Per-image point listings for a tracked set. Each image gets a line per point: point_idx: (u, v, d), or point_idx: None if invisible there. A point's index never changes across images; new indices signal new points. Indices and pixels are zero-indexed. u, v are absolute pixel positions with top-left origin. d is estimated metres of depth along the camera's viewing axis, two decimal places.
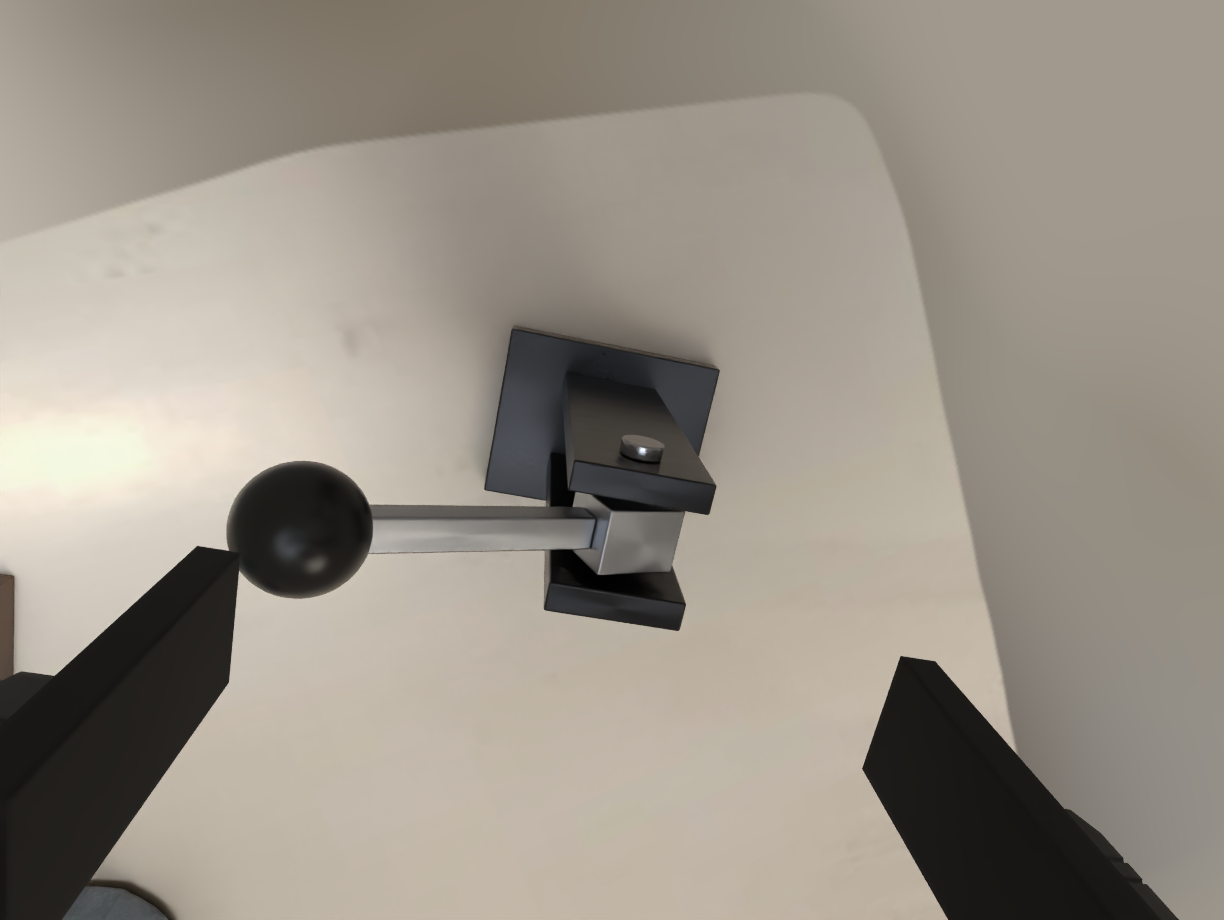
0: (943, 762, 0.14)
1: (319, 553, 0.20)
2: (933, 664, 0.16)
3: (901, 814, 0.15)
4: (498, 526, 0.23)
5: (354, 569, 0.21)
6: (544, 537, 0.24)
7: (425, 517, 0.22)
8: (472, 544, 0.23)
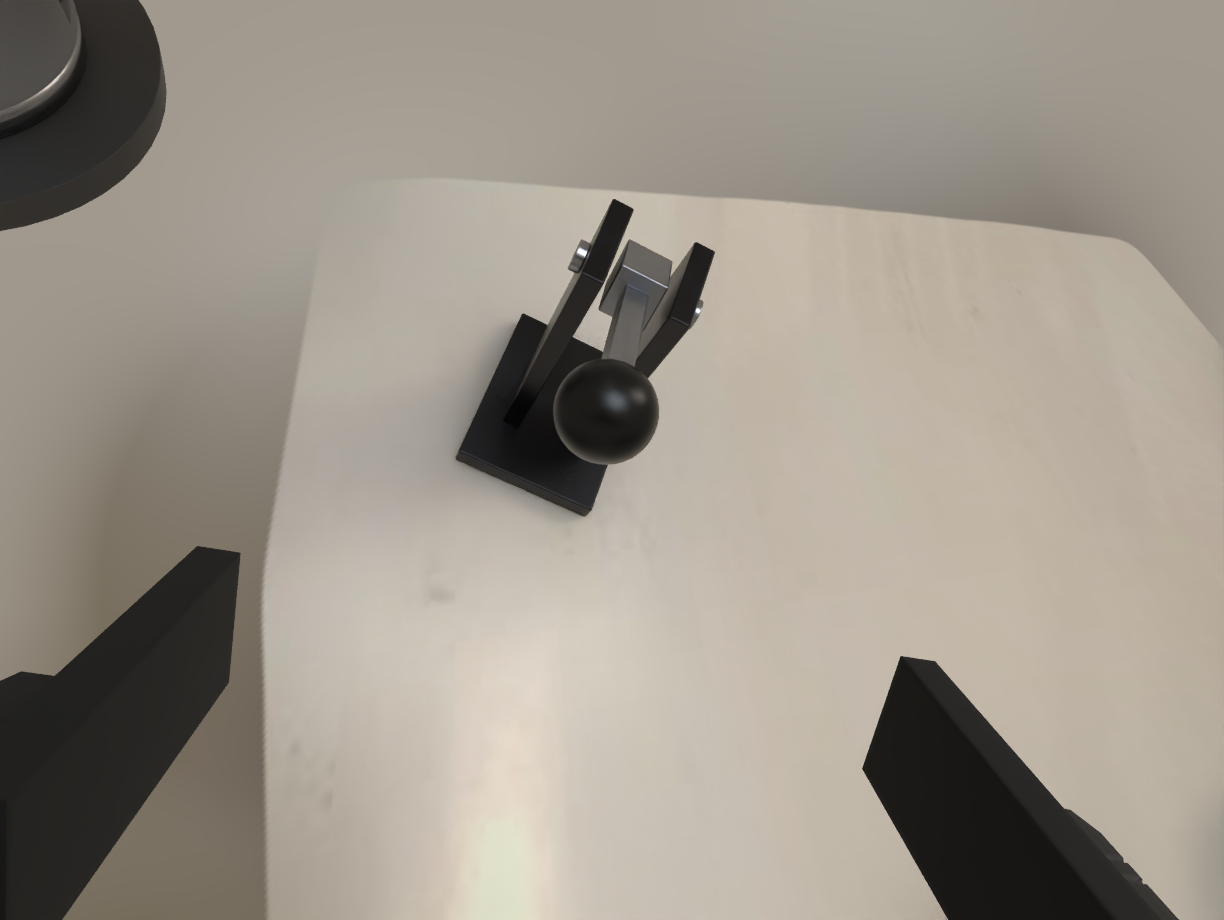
0: (943, 762, 0.14)
1: (625, 369, 0.26)
2: (933, 664, 0.16)
3: (900, 814, 0.15)
4: (623, 323, 0.31)
5: None
6: (635, 309, 0.32)
7: (609, 349, 0.29)
8: (634, 338, 0.31)
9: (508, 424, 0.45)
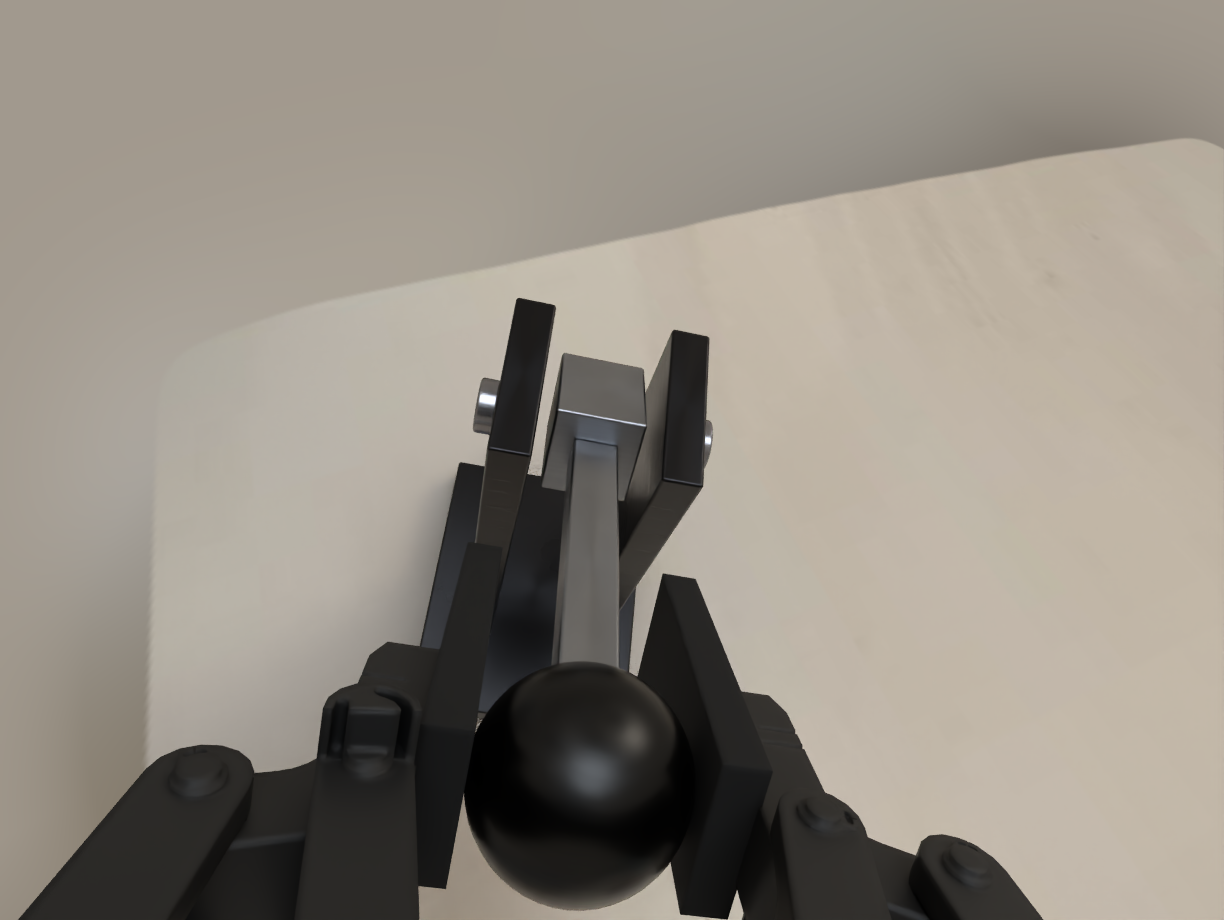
0: (669, 659, 0.16)
1: (596, 703, 0.12)
2: (692, 581, 0.18)
3: None
4: (581, 529, 0.17)
5: (634, 675, 0.13)
6: (599, 486, 0.18)
7: (562, 608, 0.15)
8: (607, 557, 0.16)
9: None
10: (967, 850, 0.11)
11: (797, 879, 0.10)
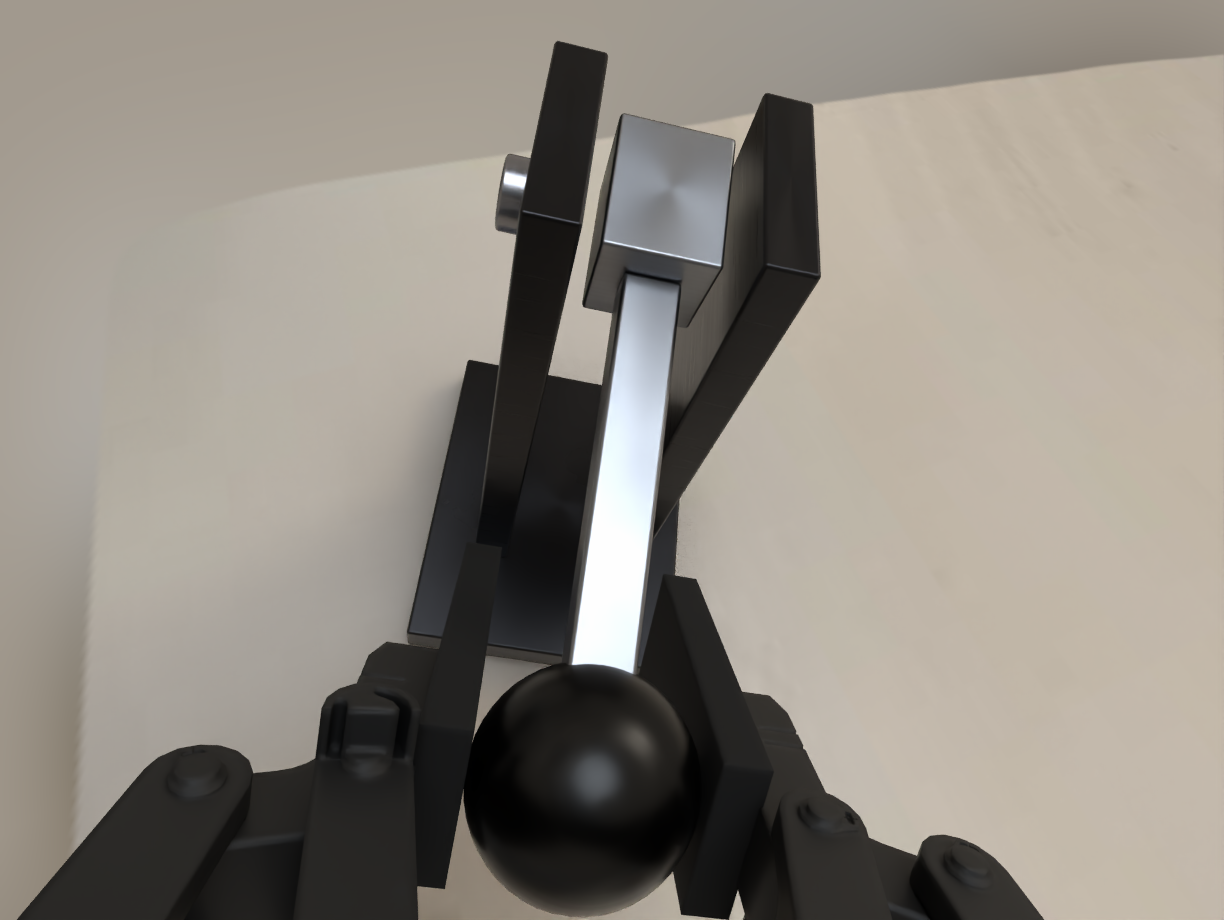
0: (670, 658, 0.16)
1: (594, 782, 0.11)
2: (692, 581, 0.18)
3: None
4: (616, 442, 0.13)
5: (647, 708, 0.12)
6: (648, 363, 0.14)
7: (581, 570, 0.13)
8: (643, 489, 0.13)
9: None
10: (968, 850, 0.11)
11: (798, 879, 0.10)
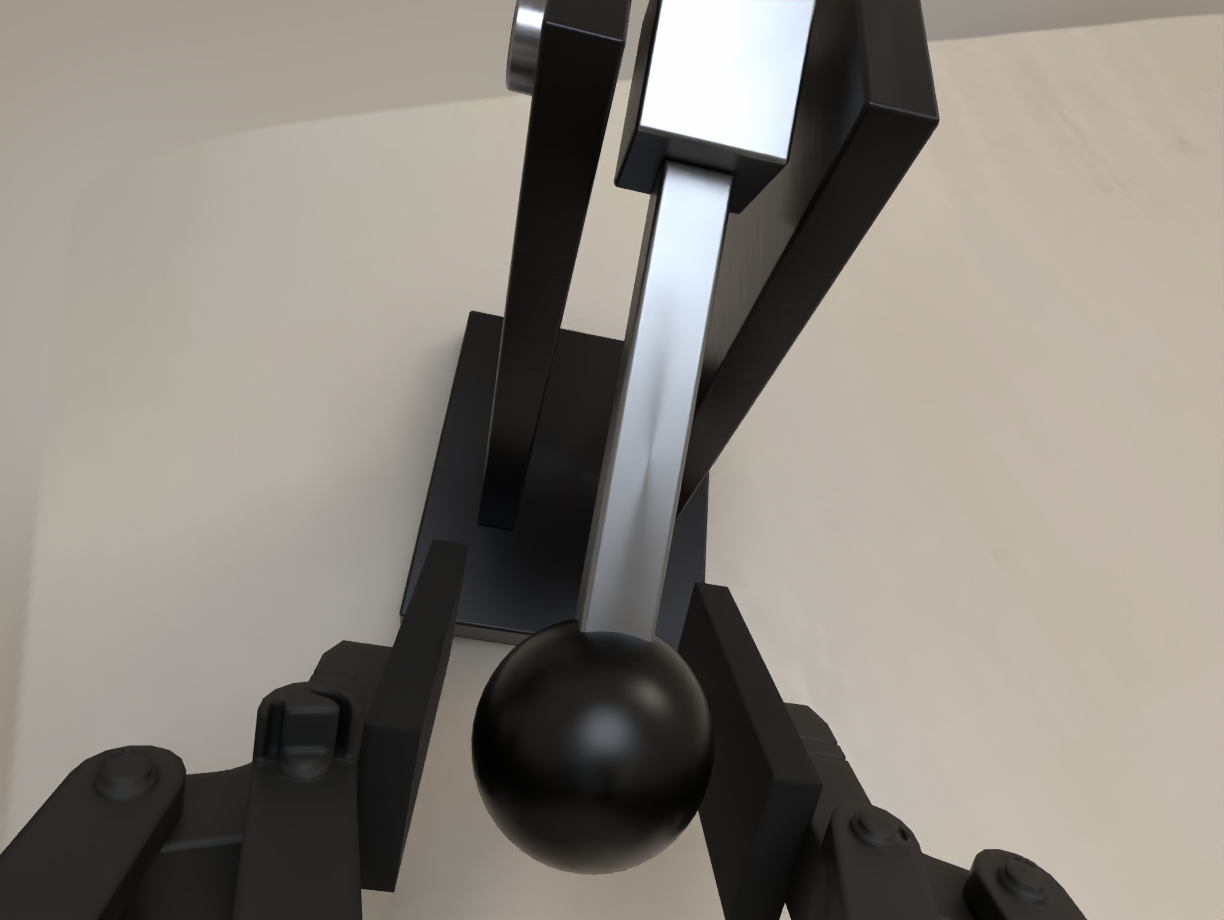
0: (706, 668, 0.16)
1: (600, 776, 0.10)
2: (724, 589, 0.17)
3: None
4: (644, 382, 0.12)
5: (661, 692, 0.11)
6: (686, 282, 0.12)
7: (598, 530, 0.11)
8: (672, 438, 0.12)
9: (490, 529, 0.22)
10: (1023, 865, 0.11)
11: (849, 891, 0.10)
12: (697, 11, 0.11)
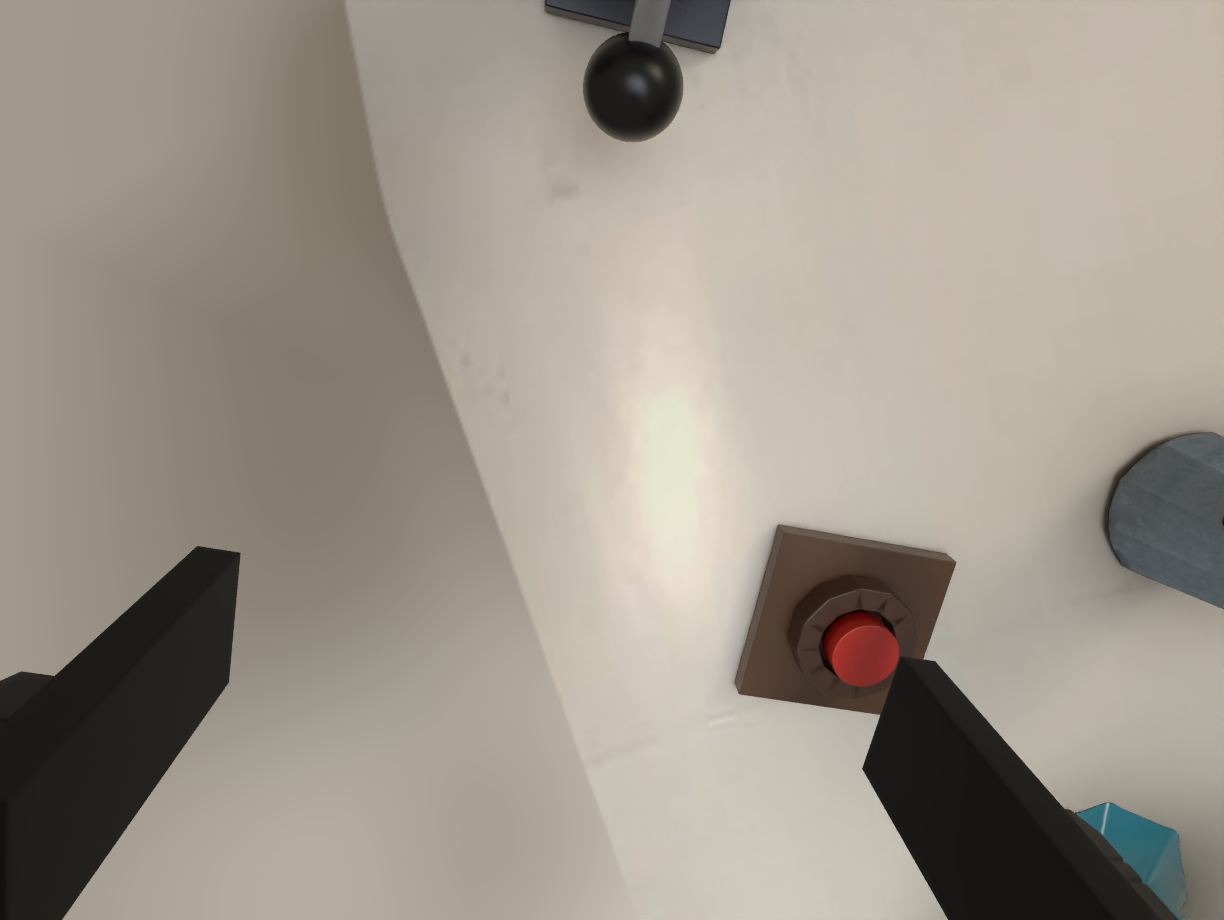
0: (942, 762, 0.14)
1: (629, 102, 0.27)
2: (933, 664, 0.16)
3: (901, 814, 0.15)
4: None
5: (657, 70, 0.27)
6: None
7: None
8: None
9: None
10: None
11: None
12: None
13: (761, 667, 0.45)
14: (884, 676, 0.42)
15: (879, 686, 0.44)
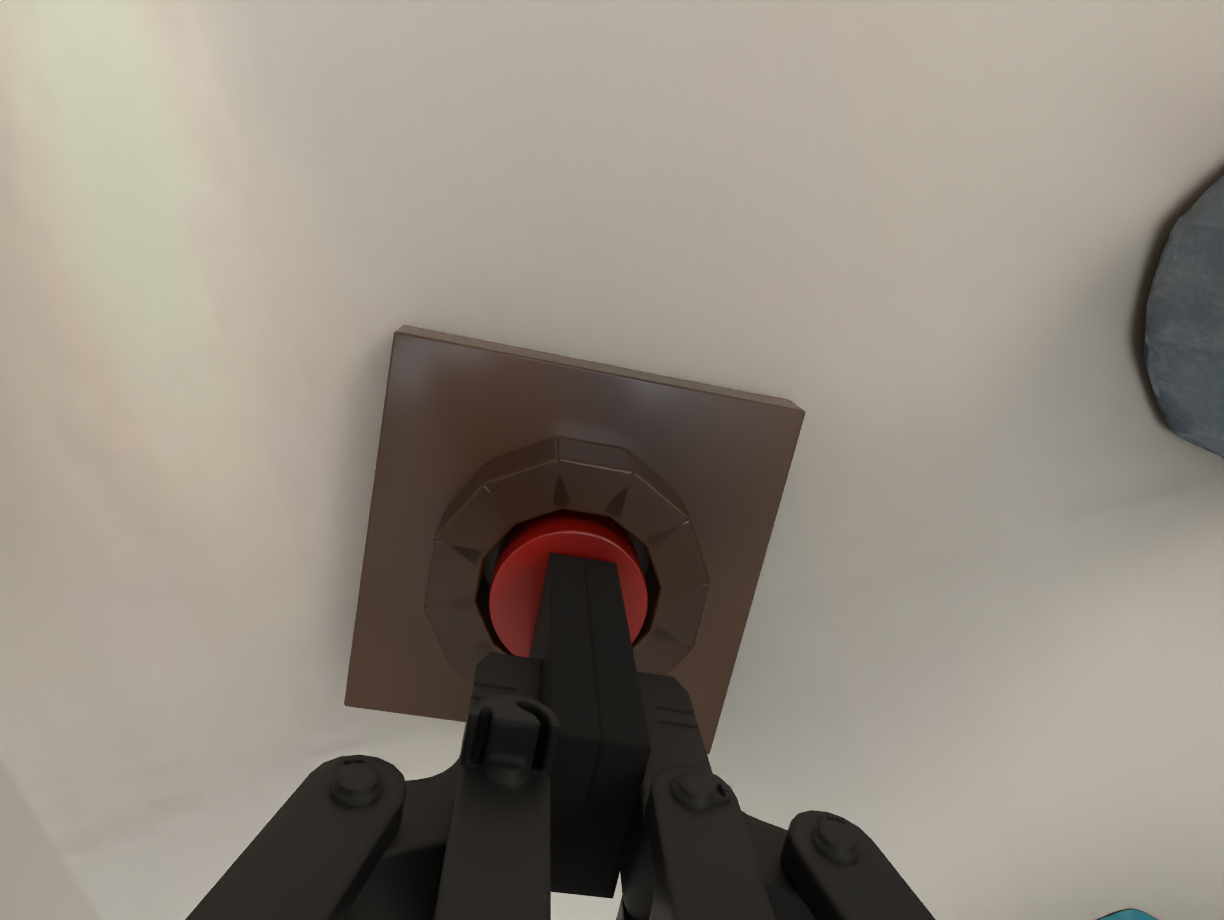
0: None
1: None
2: (611, 565, 0.17)
3: None
4: None
5: None
6: None
7: None
8: None
9: None
10: (835, 825, 0.11)
11: (673, 861, 0.10)
12: None
13: (386, 648, 0.21)
14: None
15: None
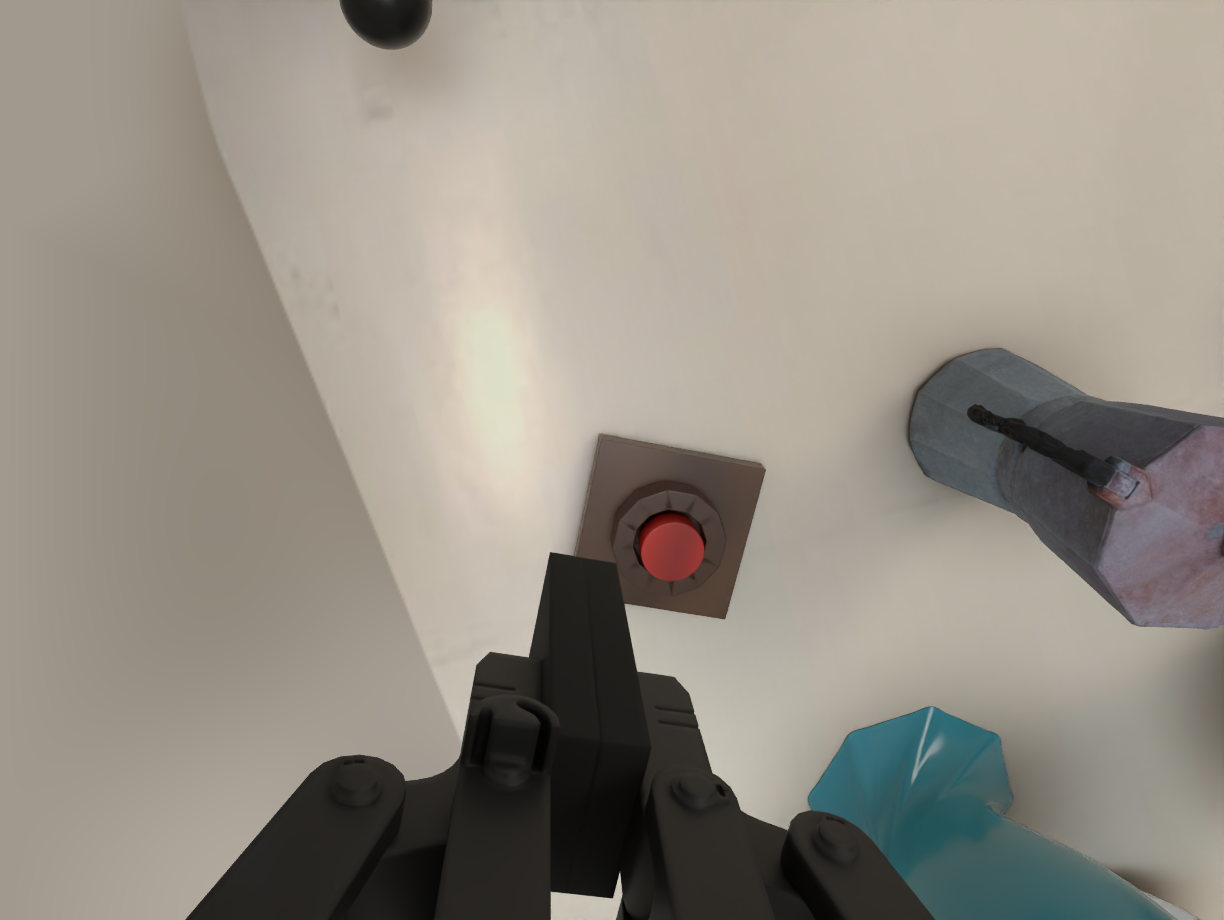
0: None
1: (372, 7, 0.31)
2: (612, 565, 0.17)
3: None
4: None
5: None
6: None
7: None
8: None
9: None
10: (835, 825, 0.11)
11: (673, 861, 0.10)
12: None
13: None
14: (691, 571, 0.46)
15: (693, 584, 0.47)
